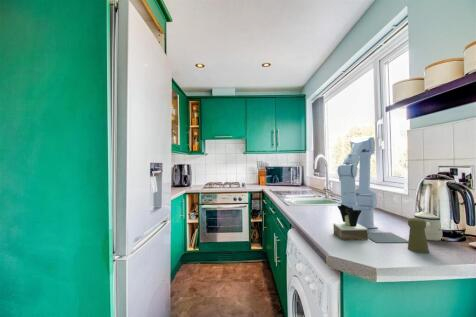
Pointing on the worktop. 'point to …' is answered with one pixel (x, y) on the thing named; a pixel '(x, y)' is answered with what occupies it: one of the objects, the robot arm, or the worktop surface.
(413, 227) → the olive pepper mill
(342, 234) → the box
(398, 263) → the worktop surface
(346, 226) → the lid
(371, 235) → the slate mat
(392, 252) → the worktop surface
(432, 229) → the teacup with lid
